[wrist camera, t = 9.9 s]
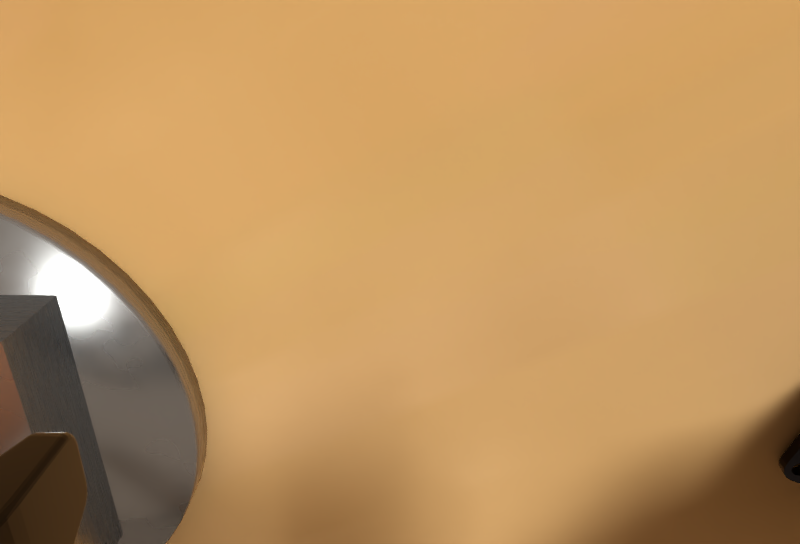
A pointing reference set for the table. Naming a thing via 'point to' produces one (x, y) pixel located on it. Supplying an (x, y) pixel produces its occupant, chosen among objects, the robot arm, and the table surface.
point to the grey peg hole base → (97, 379)
